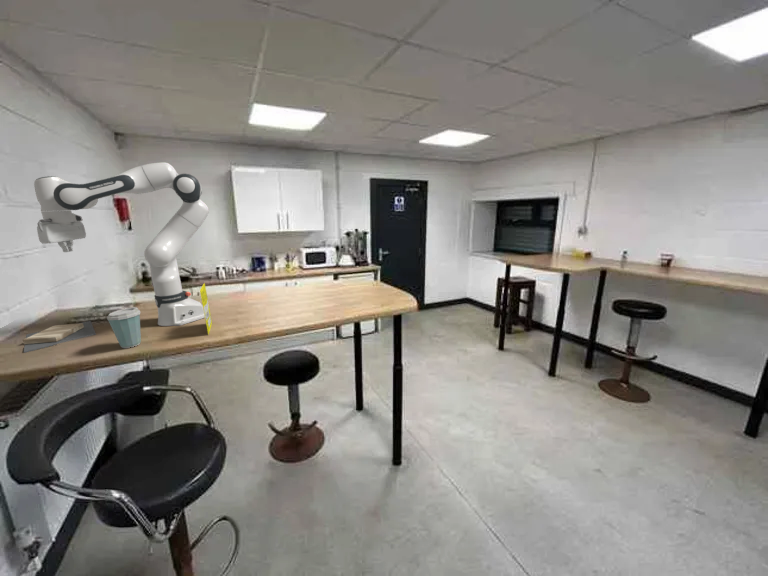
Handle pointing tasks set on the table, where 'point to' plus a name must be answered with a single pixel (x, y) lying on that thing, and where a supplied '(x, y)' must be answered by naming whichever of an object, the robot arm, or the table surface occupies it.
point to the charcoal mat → (81, 333)
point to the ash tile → (53, 334)
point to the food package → (206, 307)
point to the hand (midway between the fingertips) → (68, 251)
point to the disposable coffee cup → (126, 326)
